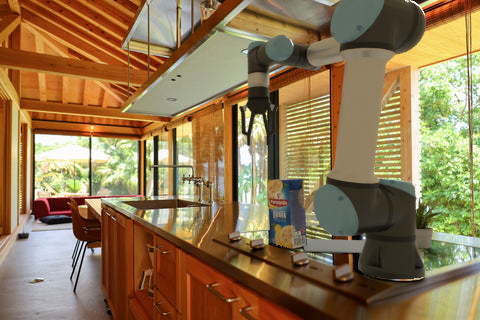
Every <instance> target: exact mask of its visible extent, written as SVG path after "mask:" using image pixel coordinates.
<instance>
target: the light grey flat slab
mask: <svg viewBox="0 0 480 320" xmlns="http://www.w3.org/2000/svg"><path fill="white" fill-rule="evenodd" d="M364 242H365V239H364V240H363V239H362V240H361V239H359V240H356V239H353V240H352V239H350V240H349V239H329V238H326V239H322V238H316V239H315V238H307V245H306V246H302V247H303V251H304V253H311V252H323V253H322V254H343V253H359V254H358V255H360V254H361V251H362V248H363V245H364Z"/></svg>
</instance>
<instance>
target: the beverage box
mask: <svg viewBox="0 0 480 320" xmlns="http://www.w3.org/2000/svg"><path fill="white" fill-rule="evenodd" d="M304 181H305V179H304V178H281V179H279V178H277V179H267V180H266V183H267V184H266V185H267V200H268V201H267V203H268V225H269V227H268V228H269V243H273V244H272V245H274V244H276V245H275V246H278V245H280V246H279V247H282V246H283V248H286V247H287V249H291V250H293V249H297V248H301V247H303V246H306V245H307V239H308V237H307V223H306V222H307V220H306V218H307V217H306V199H305V183H304Z"/></svg>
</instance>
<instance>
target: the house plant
mask: <svg viewBox="0 0 480 320" xmlns="http://www.w3.org/2000/svg"><path fill="white" fill-rule="evenodd" d="M432 201H433V199H431V200H429V201H428V202H427V203H426V204H425V202H424V201H422V203H421V197H419V198H418V201H417V206H418V207H417V208H416V244H417V247H418V249H430V248H431V243H432V239H433V238H432V237H433V232H434V228H432V227H429V225H430V224H431V223H433V222H435V221H438V222H442V223H443V222H444V221H443V219H442V218H444V217H440V216H439V215H442V214H443V215H444V214H445V212H440V211H439V212H433V213H431V212H432V211H434V210H437V209H440V208H439V207H440V203H439V204H435V205H434V206H432V208H430V209H429V210H428V211H427V212H425V211H426V210H427V207H428V206H429V204H430V203H431V202H432ZM437 207H438V208H437ZM424 213H425V214H424ZM435 216H439V217H435Z"/></svg>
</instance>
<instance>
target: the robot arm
mask: <svg viewBox="0 0 480 320" xmlns="http://www.w3.org/2000/svg"><path fill="white" fill-rule="evenodd" d="M426 27H427V18H426V14H425V12H424V11H423V9H422V7H421V6H420V5H419V4H418V3H417V2H415V1H413V0H340V2H339V3H337V6H336V8H335V10H334V12H333V15H332V16H331V20H330V34H331V37H328V38H325V39H322V40H319V41H316V42H313V43H309V44H301V43H297V42H292V39H290V38H289V37H288V36H287V35H285V34H278V35H277V36H274V37H271V38H270V39H268V40H267V41H264V40H256V41H252V42H251V41H250V43H249V44H248V46H247V54H246V57H247V87H248V89H247V102H246V103H245V104H244V105H240V106H239V108H238V109H239V111H240V117H241V119H240V121H241V122H240V123H241V134H242V135H244V136H246V145H247V146H249V155H250V156H254V137H253V135H252V133H253V128H254V127H253V126H254V123H255V118H256V116H259V115H260V116H261V117H262V121H263V125H264V129H265V134H266V135H264V139H263V140H264V141H263V145H264V147H263V148H264V150H263V153H264V154H263V155H264V156H268V146H271V136H273V135H276V125H277V121H276V120H277V112H278V109H279V106H278V104H272V103H271V101H270V68H271V67H273V66H274V65H275V66H276V65H280V66H286V67H293V68H298V69H303V70H304V69H305V70H307V71H318V70H320V69H321V68H322V67H323V66H326V65H330V64H335V63H340V62H344V69H343V70H344V71H343V81H342V88H341V89H342V91H341V97H340V98H341V100H340V109H339V120H338V128H337V129H338V130H337V138H336V145H335V146H336V148H335V155H334V164H333V165H334V167H333V168H332V170H330V171H329V172H327V173H326V179H325V184H323V185H321V186H319V187H318V188H317V190H316V191H315V193H314V195H313V201H312V204H313V205H312V207H313V211H314V216H315V219H316V220H317V222H318V223H319V225H320V227H321V228H322V229H323V230H324V231H325V232H327V234H329V235H332V236H333V237H334V236H335V237H353V236H358V235H359V236H360V235H364V236H365V239H364V240H365V242H364V245H363V248H362V251H361V254H359V258H358V263H357V264H358V271H359V270H360V271H361V272H362V273H361V272H360V271H359V272H360V273H361V274H363V273H364V274H363V275H365V274H367V275H370V276H374V277H380V278H386V279H414V278H421V277H424V276H425V277H426V267H425V264H424V261H423V259H422V256H421V254H420V250H419V248H418V247H417V244H416V210H417V202H416V201H417V195H416V186H415V185H414V184H413V183H412V182H410V181H406V180H400V179H391V178H380V177H379V178H378V176H377V175H376V173H375V171H374V169H375V164H376V163H375V161H376V153H377V146H378V135H379V128H380V119H381V109H382V103H383V94H384V86H385V78H386V71H387V70H386V69H387V64H388V62H390V61H391V60H392V59H393V58H395V56H396V55H401V54H403V53H404V54H405V53H407V52H409V51H411V50H412V49H413V48H415V47H416V46H417V45H418V44H419V43H420V42H421V40H422V39H423V37H424V35H425V32H426V29H427V28H426ZM247 109H248V111H250V117H249V122H248V127H247V126H246V124H247V123H246V122H247V121H246V120H247V119H246V112H247ZM269 110H270V111H271V130H270V127H269V123H268V118H267V114H266V113H267V112H268V111H269ZM367 275H366V276H367ZM370 276H369V277H370ZM374 277H373V278H374Z"/></svg>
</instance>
